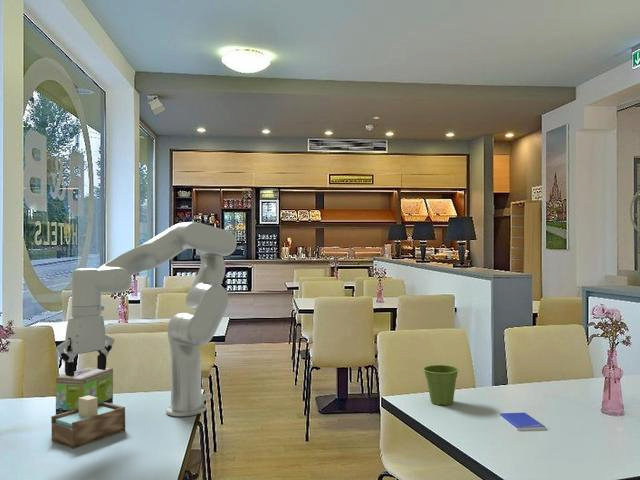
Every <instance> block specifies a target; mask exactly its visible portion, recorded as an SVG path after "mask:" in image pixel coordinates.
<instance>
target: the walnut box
mask: <svg viewBox="0 0 640 480" xmlns="http://www.w3.org/2000/svg"><path fill="white" fill-rule="evenodd" d="M99 406H103V407H107V408H111V409H115V410H112V411H109V412H105V413H102V414H99V415H95V416H92V417H89V418H85V419H82V420H79V421H76V422H72V428H71V427H68V426H65V425H61V424H58V423H56V419H58V418H61V417H65V416H68V415H72V414H75V413H78V412H79V409H76V410H72V411H69V412H65V413H62V414H58V415H56V414H55V415H51V416H50V417H51V418H50V419H51V421H50V423H51V442H54V443H56V444H59V445H61V446H65V447H67V448H70V449H73V450H74V449H76V448H78V447H82V446H85V445H88V444H91V443H93V442H97V441H99V440H102V439H105V438H108V437H111V436H113V435H117V434H119V433H123V432H125V431H126V406H122V405H119V404H115V403H113V404H111V403H107V402H101V403H98V407H99Z"/></svg>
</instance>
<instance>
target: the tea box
mask: <svg viewBox="0 0 640 480" xmlns="http://www.w3.org/2000/svg"><path fill="white" fill-rule="evenodd" d="M55 384H56V385H55V415H58V414H62V413H65V412H69V411H72V410H76V409H79V398H80V397H84V396H88V395H89V396H93V397H97V398H98V403H101V402H107V403H111V404H114V401H113V400H114V367H113V368H112V367H111V368H110V367H106V370H100V369H98V368H97V367H94V366H93V367H91V366H89V367H88V366H86V367H84V368H81V369H78V370H74V376H73V377H70V376H66V373H65V374H63V375H59V376H57V377H56V380H55Z"/></svg>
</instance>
